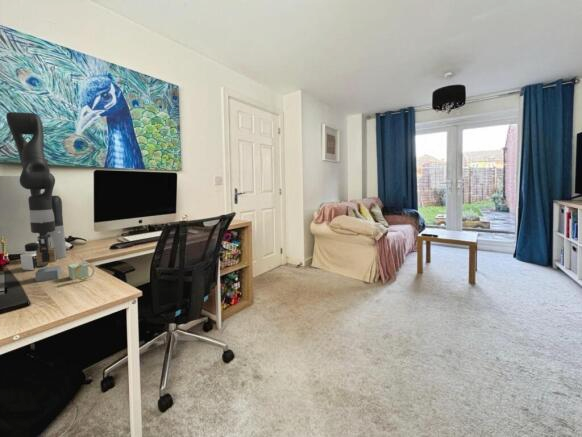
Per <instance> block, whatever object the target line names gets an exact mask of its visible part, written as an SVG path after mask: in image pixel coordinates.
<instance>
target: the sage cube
mask: <svg viewBox="0 0 582 437" xmlns="http://www.w3.org/2000/svg"><path fill="white" fill-rule="evenodd" d="M81 262H82V263H83V262H84V261H81ZM81 262H77V263H73V264H68V265H67V272H68V277H69V278H70V280H72V281H76V280H78V279H77V278H76V277H75V275H74V270H75V268H76V266H77V265H78V264H80V263H81ZM76 274H77V277H79V278H81V279H84V278H88V277H89V276H90V275H89V266H87V265H85V266H83V267H81V268H80V269H79V270H78V271H77V273H76Z"/></svg>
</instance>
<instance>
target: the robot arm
mask: <svg viewBox="0 0 582 437" xmlns="http://www.w3.org/2000/svg"><path fill="white" fill-rule="evenodd" d="M5 117H6V122H7V125H8V128H9V130H10V133H11V136H12V138H13V141H14V144H15V146H16V148H17V152H18V155H19V158H20V163H21V167H22V171H21V174H20V177H19V185H20V186H21V187H22V188H23V189H25V190H29V192H30V196H29V197H28V198H27V199H28V209H29V223H30V224H29V226H30V232H31V233H32V234H38V235H39V236H38V237H37V239H36V240H37V242H39V248H40V253H42V262H49V261H50V259H49V248H50V247H55V253H56V260H58V259H63V258H65V257H67V248H66V247H67V246H66V237H65V230H64V229H65V228H64V218H63V201H62V198H61V197H60V196H59V195H53V192H54V187H55V184H56V178H55V176H54V174H52V173H51V170H50V167H49V166H50V165H49V163H48V161H47V159H46V158H45V150H44V149H45V148H44V143H45V140H44V126H43V122H42V119H41V117H40V115H39V114H37V113H34V112H19V111H18V112H17V111H15V112H14V111H9V112H7V113H6V115H5ZM23 135H32V137H31V138H30V140H29V141H28V142H27V140H26V139H25V137H24V136H23ZM42 190H43V192H42V193H41V191H42ZM42 248H46V249H44V250H42Z"/></svg>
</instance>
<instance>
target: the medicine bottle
mask: <svg viewBox="0 0 582 437" xmlns="http://www.w3.org/2000/svg"><path fill="white" fill-rule="evenodd" d="M37 249H40V248H39V242H38V241H37V242H28V243H26V244H25V245H24V252H25V253H22V254H20V263H21V269H22V270H24V271H25V270H26V271H38V270H39V269H40V268H47V267H51V266H50V265H51V263H44V264H37V256H36V251H37Z"/></svg>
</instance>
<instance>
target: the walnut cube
mask: <svg viewBox="0 0 582 437" xmlns="http://www.w3.org/2000/svg"><path fill="white" fill-rule="evenodd" d="M44 249H46V248H42V250H44ZM36 256H37V264H44V263H50V264H52V263H56V262H57V259H56V253H55V247H50V248H49V259H50V261H49V262H42V253H40V249H37V251H36Z"/></svg>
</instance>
